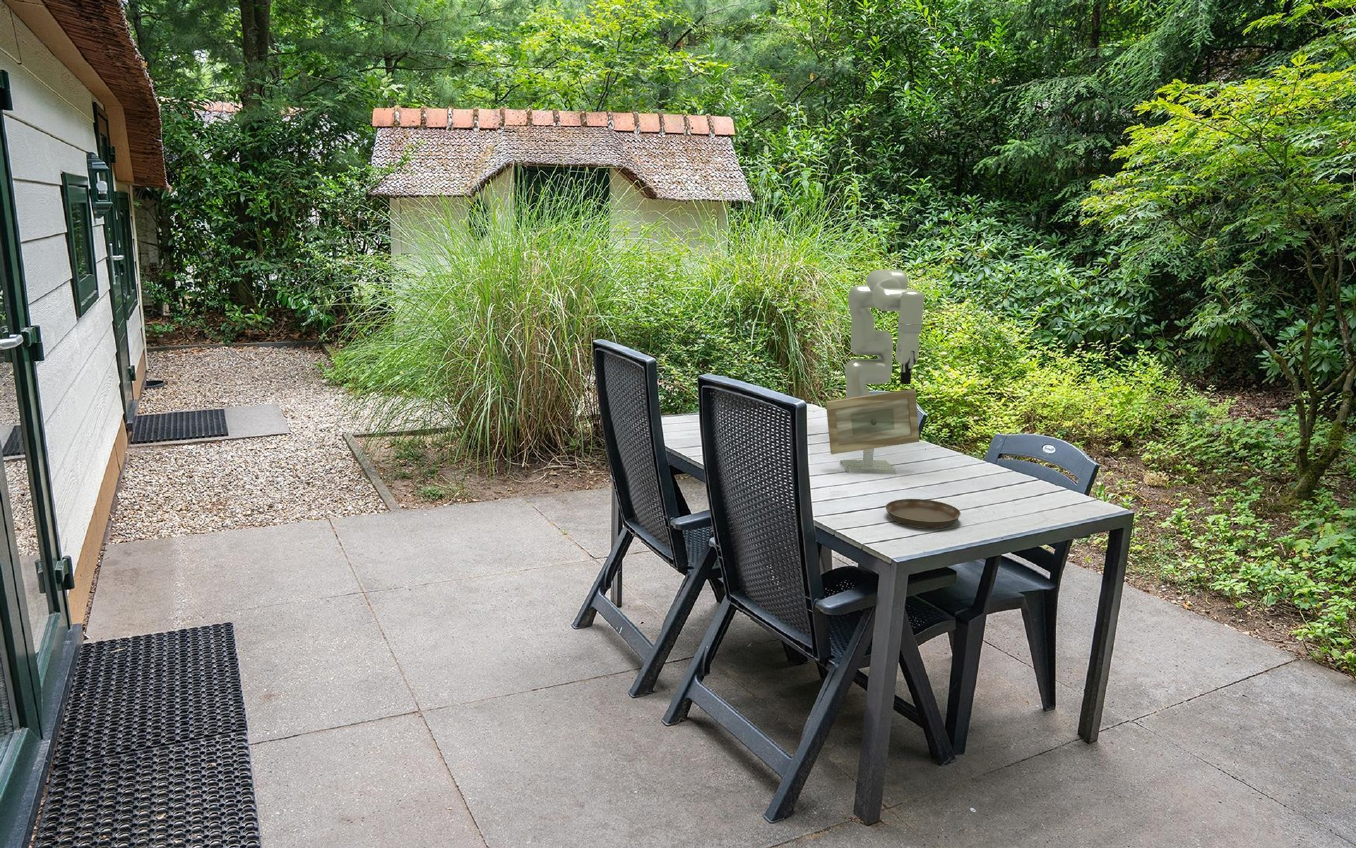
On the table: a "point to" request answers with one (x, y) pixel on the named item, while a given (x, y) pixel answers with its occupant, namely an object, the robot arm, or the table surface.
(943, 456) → the table surface
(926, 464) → the table surface
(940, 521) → the plant saucer
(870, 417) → the picture frame
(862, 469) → the frame stand
